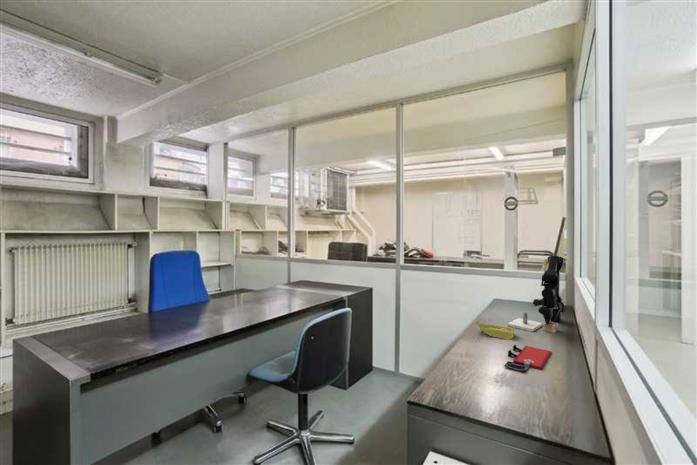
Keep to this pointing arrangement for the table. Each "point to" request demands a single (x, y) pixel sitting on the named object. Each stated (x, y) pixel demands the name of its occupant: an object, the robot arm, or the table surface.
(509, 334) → the plastic component
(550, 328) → the collar
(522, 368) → the red board with handle
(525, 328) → the post plate
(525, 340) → the table surface
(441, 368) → the table surface
